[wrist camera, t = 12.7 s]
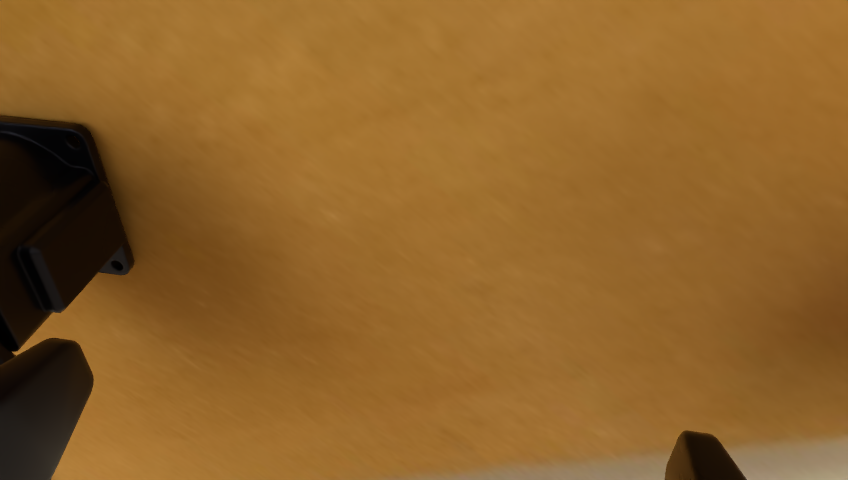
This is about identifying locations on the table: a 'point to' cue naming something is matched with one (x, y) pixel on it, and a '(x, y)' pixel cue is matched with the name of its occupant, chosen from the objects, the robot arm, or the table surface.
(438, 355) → the table surface
